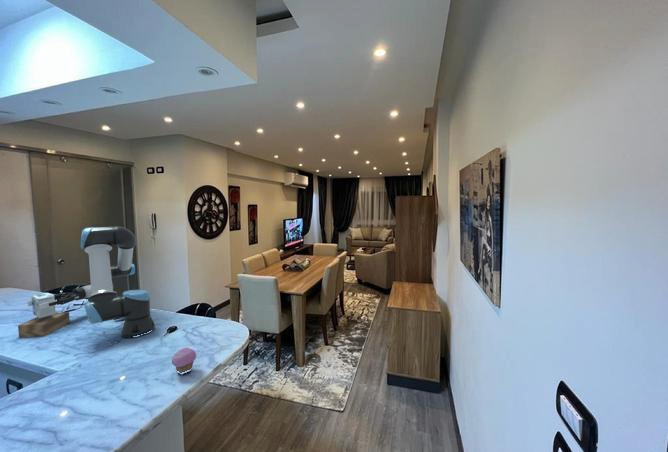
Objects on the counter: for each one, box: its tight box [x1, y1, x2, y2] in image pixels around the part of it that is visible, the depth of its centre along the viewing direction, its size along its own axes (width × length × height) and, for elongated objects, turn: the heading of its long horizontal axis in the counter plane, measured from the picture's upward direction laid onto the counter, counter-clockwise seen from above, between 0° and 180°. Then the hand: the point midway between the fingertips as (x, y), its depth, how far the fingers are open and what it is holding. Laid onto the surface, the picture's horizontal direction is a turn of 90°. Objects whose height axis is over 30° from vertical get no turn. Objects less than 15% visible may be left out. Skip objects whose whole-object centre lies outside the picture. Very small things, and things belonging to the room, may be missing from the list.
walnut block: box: [17, 311, 71, 338], centre depth 149 cm, size 12×16×7 cm
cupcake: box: [171, 347, 197, 373], centre depth 111 cm, size 9×9×10 cm
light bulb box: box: [31, 292, 57, 318], centre depth 148 cm, size 11×7×11 cm, turn 62°
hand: (33, 305), depth 144 cm, fingers closed on light bulb box, 11 cm apart
